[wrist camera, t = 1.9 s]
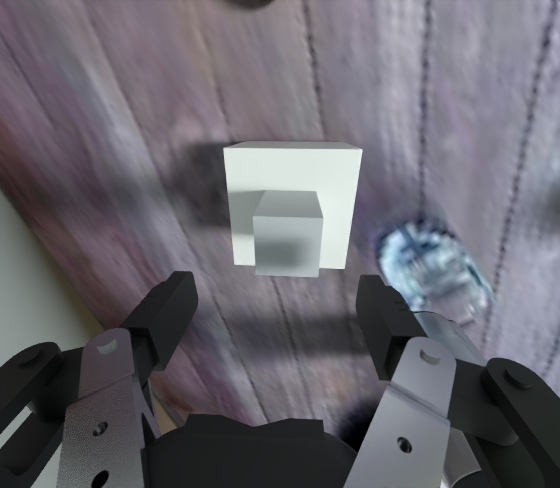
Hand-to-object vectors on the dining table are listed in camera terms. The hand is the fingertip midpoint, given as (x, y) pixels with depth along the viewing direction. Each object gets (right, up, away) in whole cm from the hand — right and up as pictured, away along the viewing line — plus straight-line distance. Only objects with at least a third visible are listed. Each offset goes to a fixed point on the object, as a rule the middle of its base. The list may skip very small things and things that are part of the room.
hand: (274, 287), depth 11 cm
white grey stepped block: (+2, +9, +16) cm, 18 cm away
